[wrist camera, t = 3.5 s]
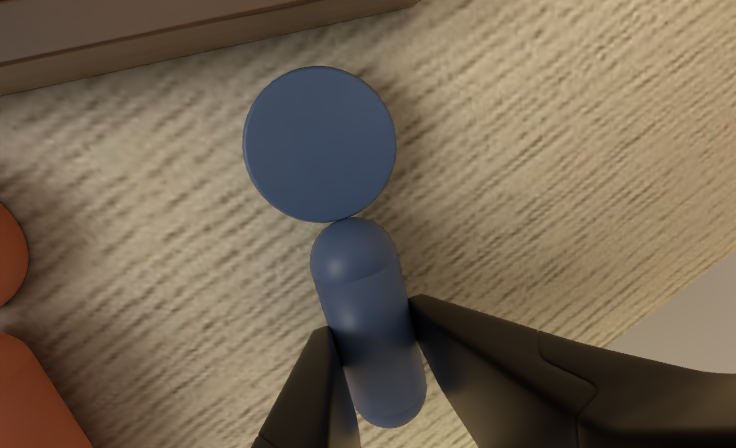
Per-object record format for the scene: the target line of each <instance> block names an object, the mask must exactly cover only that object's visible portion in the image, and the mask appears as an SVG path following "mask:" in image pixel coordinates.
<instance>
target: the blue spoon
mask: <svg viewBox="0 0 736 448" xmlns="http://www.w3.org/2000/svg"><path fill="white" fill-rule="evenodd" d="M243 155H244V161H245V164H246V168H247V171H248V173H249V175H250V178H251V180H252V182H253V183H254V185H255V187H256V188H257V190H258V191H259V192H260V193H261V195H262V196H263V197H264V198H265V199H266V200H267V201H268V202H269V203H270V204H271V205H273V206H274V207H275V208H277V209H278V210H280V211H281V212H283V213H285V214H286V215H289V216H291V217H293V218H296V219H300V220H303V221H308V222H317V223H326V222H333V223H331V224H330V225H329V226H327V227H326V228H325V229H324V230H323V231H322V232H321V233H320V234H319V236H318V237H317V238H316V240H315V243H314V245H313V247H312V251H311V255H310V268H311V273H312V277H313V280H314V283H315V286H316V289H317V292H318V295H319V299H320V302H321V305H322V308H323V311H324V314H325V317H326V321H327V324H328V326H329V327H330V328H331V330H332V333H333V336H334V340H335V343H336V346H337V349H338V352H339V355H340V359H341V362H342V365H343V368H344V372H345V376H346V379H347V383H348V387H349V390H350V394H351V398H352V401H353V404H354V406H355V408H356V410H357V411H358V412H359V414H360V415H361V416H362V417H363V418H364V419H365V420H367V421H368V422H369V423H371V424H373V425H375V426H378V427H382V428H397V427H400V426H403V425H405V424H407V423H408V422H410V421H411V420H412V419H413V418H414V417H415V416H416V415H417V414H418V413H419V411H420V410H421V408H422V406H423V404H424V401H425V398H426V391H427V384H426V376H425V371H424V367H423V363H422V358H421V354H420V350H419V345H418V341H417V338H416V334H415V329H414V325H413V321H412V316H411V312H410V308H409V303H408V298H407V293H406V289H405V285H404V280H403V276H402V272H401V267H400V263H399V259H398V254H397V250H396V247H395V245H394V242H393V241H392V239H391V237H390V236H389V234H388V233H387V232H386V231H385V230H384V229H383V228H382V227H381V226H379V225H378V224H376V223H375V222H373V221H370V220H368V219H364V218H358V217H351V216H353V215H355V214H357V213H359V212H360V211H362V210H363V209H365V208H366V207H368V206H369V205H370V204H371V203H372V202H373V201H374V200H375V199H376V198H377V197H378V196H379V195H380V193H381V192H382V190H383V189H384V187H385V186H386V184H387V182H388V180H389V178H390V176H391V173H392V170H393V167H394V163H395V158H396V135H395V129H394V125H393V121H392V118H391V116H390V114H389V111H388V109H387V107H386V106H385V104H384V102H383V101H382V99H381V98H380V97H379V95H378V94H377V93H376V92H375V91H374V90H373V89H372V88H371V87H370V86H369V85H368V84H366V83H365V82H364V81H363V80H361V79H360V78H358V77H356V76H355V75H353V74H351V73H348V72H346V71H344V70H340V69H336V68H333V67H325V66H310V67H304V68H299V69H296V70H293V71H290V72H288V73H286V74H284V75H281V76H280V77H278V78H277V79H275V80H274V81H272V82H271V83H270V84H269V85H268V86H267V87H266V88H264V89H263V91H262V92H261V93H260V94H259V95H258V97H257V98H256V100H255V101H254V103H253V105H252V106H251V108H250V111H249V113H248V115H247V118H246V122H245V125H244V131H243ZM348 217H350V218H348ZM334 221H335V222H334Z"/></svg>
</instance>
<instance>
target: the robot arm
mask: <svg viewBox="0 0 736 448" xmlns="http://www.w3.org/2000/svg"><path fill="white" fill-rule="evenodd" d="M408 303H409V308H410V312H411V316H412V321H413V325H414V329H415V334H416V338H417V341H418V343H419V345H420V347H421V349H422V352H423V354H424V356H425V358H426V360H427V362H428V364H429V366H430V368H431V370H432V372H433V374H434V376H435V378H436V380H437V382H438V384H439V386H440V388H441V389H442V391H443V393H444V394H445V396H446V398H447V399H448V401H449V402H450V404H451V405H452V407H453V408H454V410H455V411H456V413H457V415H458V416H459V418H460V419H461V421H462V422H463V424H464V425H465V427H466V428H467V430H468V431H469V433H470V435H471V436H472V438H473V439H474V441H475V442H476V444H477V445H478V447H479V448H736V374H725V373H724V374H723V373H711V372H703V371H698V370H693V369H688V368H683V367H680V366H675V365H671V364H667V363H662V362H658V361H654V360H649V359H645V358H641V357H637V356H632V355H628V354H624V353H620V352H615V351H611V350H607V349H603V348H599V347H595V346H591V345H587V344H583V343H579V342H576V341H573V340H569V339H566V338H562V337H559V336H555V335H552V334H549V333H546V332H543V331H537V330H536V329H533V328H529V327H526V326H523V325H520V324H517V323H513V322H510V321H507V320H504V319H501V318H497V317H494V316H491V315H488V314H485V313H481V312H478V311H475V310H472V309H469V308H465V307H462V306H459V305H456V304H453V303H449V302H446V301H443V300H440V299H437V298H433V297H430V296H427V295H424V294H419V295H416V296H413V297H410V298H408ZM251 448H361V442H360V435H359V428H358V422H357V417H356V413H355V409H354V405H353V401H352V398H351V394H350V390H349V387H348V383H347V379H346V376H345V372H344V368H343V365H342V362H341V359H340V355H339V352H338V349H337V346H336V343H335V340H334V336H333V333H332V330H331V328H330V327H329V326H325V327H322V328H319V329H316V330H314V331H313V332H312V334H311V336H310V338H309V340H308V342H307V343H306V345H305V347H304V349H303V351H302V353H301V355H300V357H299V358H298V360H297V362H296V364H295V366H294V368H293V370H292V372H291V373H290V375H289V377H288V379H287V381H286V383H285V385H284V387H283V388H282V390H281V392H280V394H279V396H278V398H277V400H276V402H275V403H274V405H273V407H272V409H271V411H270V413H269V415H268V417H267V418H266V420H265V422H264V424H263V426H262V428H261V430H260V432H259V434H258V436H257V437H256V439H255V441H254V442H253V444H252V446H251Z"/></svg>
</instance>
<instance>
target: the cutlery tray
mask: <svg viewBox="0 0 736 448" xmlns="http://www.w3.org/2000/svg"><path fill="white" fill-rule="evenodd" d="M419 1H420V0H0V96H3V95H8V94H12V93H17V92H21V91H26V90H31V89H35V88H40V87H44V86H49V85H54V84H58V83H63V82H67V81H72V80H77V79H81V78H86V77H90V76H95V75H100V74H104V73H109V72H113V71H118V70H123V69H127V68H132V67H136V66H141V65H146V64H150V63H155V62H159V61H164V60H168V59H173V58H178V57H182V56H187V55H191V54H196V53H201V52H205V51H210V50H214V49H219V48H224V47H228V46H233V45H237V44H242V43H247V42H251V41H256V40H260V39H265V38H270V37H274V36H279V35H283V34H288V33H293V32H297V31H302V30H306V29H311V28H316V27H320V26H325V25H329V24H334V23H339V22H343V21H348V20H352V19H357V18H361V17H366V16H371V15H375V14H380V13H384V12H389V11H394V10H398V9H403V8H407V7H412V6H414V5H416V4H417V3H418V2H419Z"/></svg>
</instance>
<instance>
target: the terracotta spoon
mask: <svg viewBox="0 0 736 448" xmlns="http://www.w3.org/2000/svg"><path fill="white" fill-rule="evenodd" d="M27 267H28V248H27V243H26V240H25V237H24V234H23V232H22V230H21V228H20V226H19V225H18V223H17V222H16V220H15V219H14V217H13V216H12V215H11V213H10V212H9V211H8V210H7V209H6V208H5V207H4V206H3V205H2V204H1V203H0V306H2V305H3V304H5V303H6V302H7V301H8V300H9V299H10V298H11V297H13V295H14V294H15V293H16V292H17V290H18V289H19V288H20V286H21V284H22V282H23V280H24V278H25V275H26V272H27ZM0 448H93V446H92V445H91V443H90V442H89V440H88V439H87V437H86V435H85V434H84V432H83V431H82V429H81V428H80V426H79V424H78V423H77V421H76V420H75V418H74V417H73V415H72V413H71V412H70V410H69V409H68V407H67V406H66V404H65V403H64V401H63V399H62V398H61V396H60V395H59V393H58V392H57V390H56V388H55V387H54V385H53V384H52V382H51V381H50V379H49V377H48V376H47V374H46V373H45V371H44V370H43V368H42V366H41V365H40V363H39V362H38V360H37V359H36V357H35V356H34V354H33V352H32V351H31V350H30V349H29V348H28V347H27V345H26V344H25V343H23V342H22V341H21V340H19V339H18V338H16V337H13V336H11V335H8V334H5V333H0Z"/></svg>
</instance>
